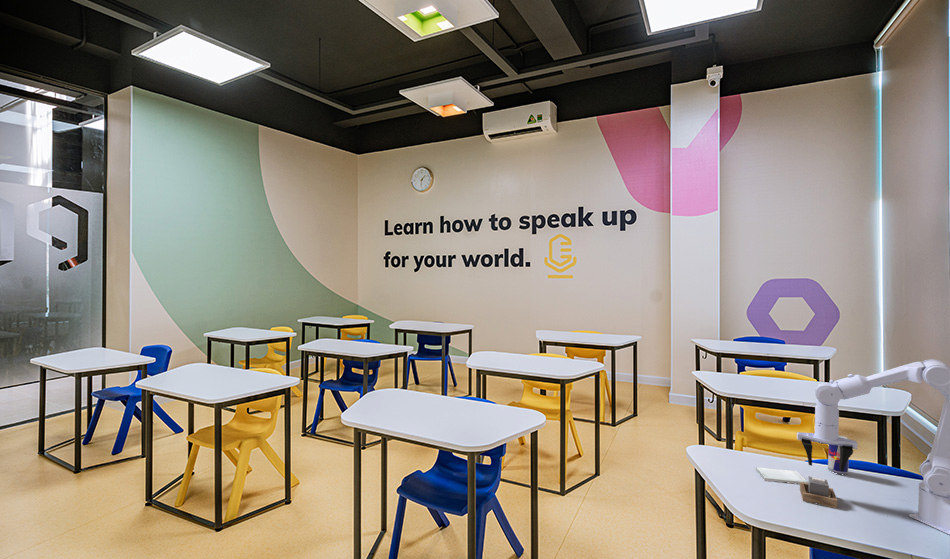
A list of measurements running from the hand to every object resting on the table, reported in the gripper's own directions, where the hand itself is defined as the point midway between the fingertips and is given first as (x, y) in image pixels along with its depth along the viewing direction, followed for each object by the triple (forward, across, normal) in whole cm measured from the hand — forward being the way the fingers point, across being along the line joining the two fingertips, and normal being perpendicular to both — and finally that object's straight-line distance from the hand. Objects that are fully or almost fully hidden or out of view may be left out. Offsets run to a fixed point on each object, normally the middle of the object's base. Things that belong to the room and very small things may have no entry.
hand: (825, 467), depth 139 cm
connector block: (+8, +2, +4) cm, 9 cm away
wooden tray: (+9, +2, +4) cm, 10 cm away
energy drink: (+9, -7, -21) cm, 24 cm away
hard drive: (+9, +11, -7) cm, 16 cm away
